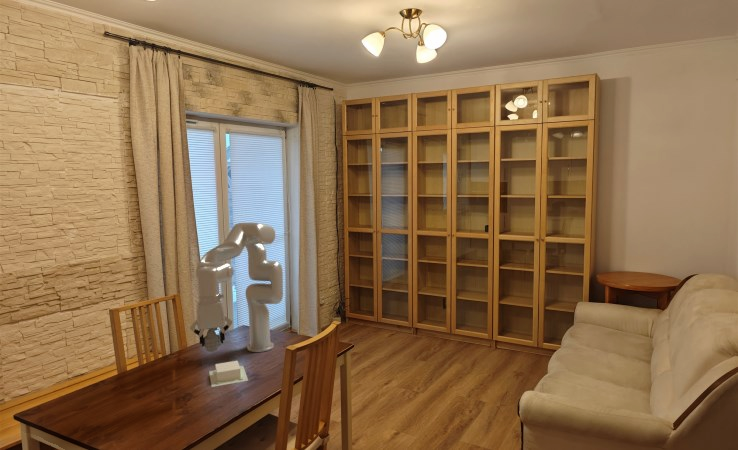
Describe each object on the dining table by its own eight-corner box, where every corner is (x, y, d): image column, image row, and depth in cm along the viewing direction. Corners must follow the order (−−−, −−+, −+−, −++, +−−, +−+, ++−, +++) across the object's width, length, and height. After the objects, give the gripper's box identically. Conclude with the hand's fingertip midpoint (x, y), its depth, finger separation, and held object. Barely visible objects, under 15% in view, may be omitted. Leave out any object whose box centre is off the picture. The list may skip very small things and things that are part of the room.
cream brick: (215, 373, 198) (215, 364, 197) (238, 369, 201) (237, 360, 201) (217, 382, 189) (217, 372, 189) (240, 378, 193) (240, 368, 192)
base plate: (209, 374, 200) (208, 370, 200) (243, 368, 205) (243, 364, 205) (211, 390, 185) (211, 386, 185) (248, 384, 191) (248, 379, 190)
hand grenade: (205, 355, 181) (203, 327, 179) (203, 350, 186) (201, 323, 184) (223, 352, 184) (221, 324, 182) (220, 347, 189) (218, 320, 187)
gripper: (231, 293, 189) (234, 337, 191) (185, 299, 182) (188, 344, 185) (233, 298, 182) (236, 343, 184) (185, 304, 175) (189, 351, 178)
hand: (212, 343), depth 184 cm, fingers closed on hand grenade, 6 cm apart
